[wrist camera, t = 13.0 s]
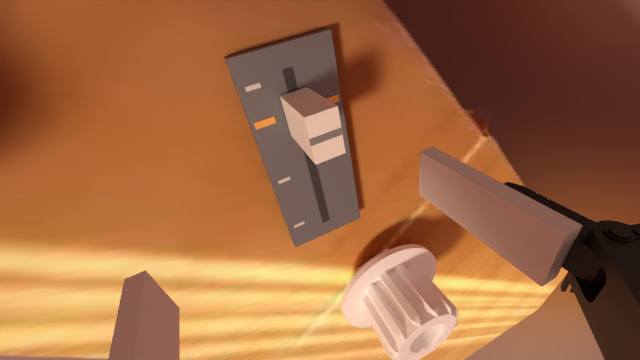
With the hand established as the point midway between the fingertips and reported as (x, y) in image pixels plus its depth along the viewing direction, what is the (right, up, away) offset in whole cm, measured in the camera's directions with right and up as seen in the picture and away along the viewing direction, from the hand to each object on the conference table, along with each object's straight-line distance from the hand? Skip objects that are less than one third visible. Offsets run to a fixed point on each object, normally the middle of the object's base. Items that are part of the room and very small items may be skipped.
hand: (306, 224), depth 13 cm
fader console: (-2, +6, +33) cm, 34 cm away
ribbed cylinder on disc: (+15, -20, +57) cm, 62 cm away
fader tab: (-2, +12, +27) cm, 29 cm away
